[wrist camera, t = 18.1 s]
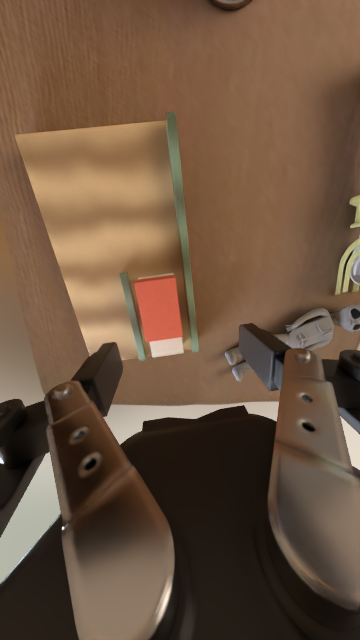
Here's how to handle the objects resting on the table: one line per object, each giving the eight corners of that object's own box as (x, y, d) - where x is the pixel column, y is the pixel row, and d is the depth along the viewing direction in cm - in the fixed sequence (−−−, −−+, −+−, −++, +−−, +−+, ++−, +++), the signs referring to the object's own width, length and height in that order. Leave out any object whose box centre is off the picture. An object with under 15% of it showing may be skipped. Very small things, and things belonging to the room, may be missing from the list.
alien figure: (227, 357, 30) (375, 293, 27) (219, 344, 34) (345, 288, 32) (242, 390, 33) (378, 334, 30) (233, 374, 37) (350, 324, 34)
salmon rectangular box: (139, 277, 25) (133, 281, 21) (173, 272, 26) (175, 275, 21) (153, 349, 29) (151, 366, 25) (182, 345, 30) (185, 361, 25)
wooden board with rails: (33, 150, 22) (-3, 121, 17) (173, 136, 23) (175, 104, 18) (98, 355, 32) (87, 371, 27) (194, 340, 33) (200, 354, 28)
